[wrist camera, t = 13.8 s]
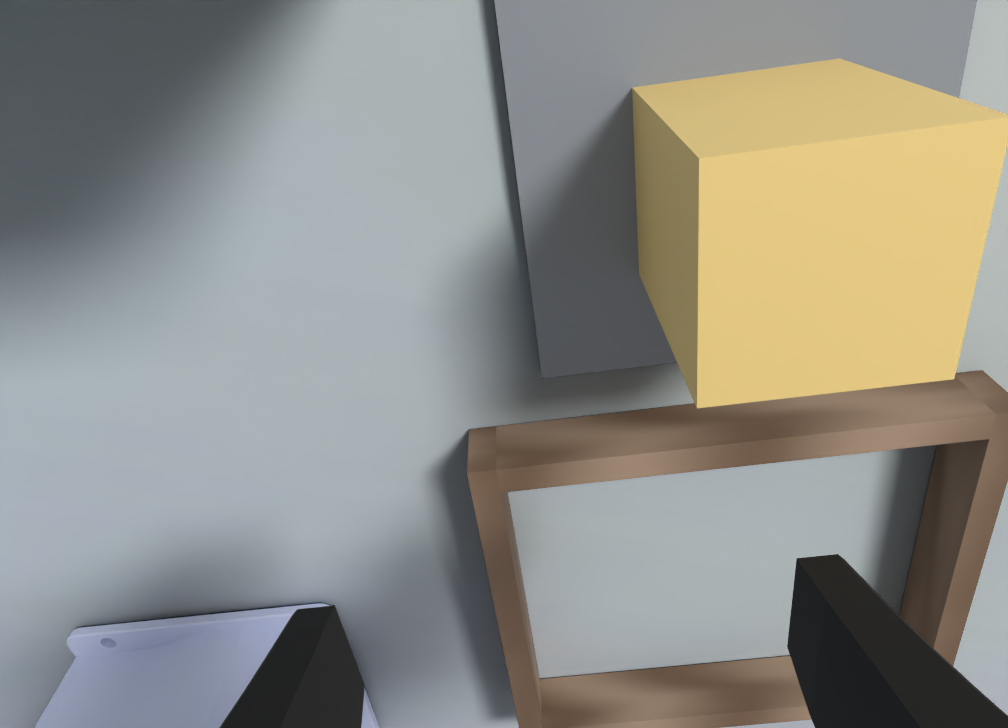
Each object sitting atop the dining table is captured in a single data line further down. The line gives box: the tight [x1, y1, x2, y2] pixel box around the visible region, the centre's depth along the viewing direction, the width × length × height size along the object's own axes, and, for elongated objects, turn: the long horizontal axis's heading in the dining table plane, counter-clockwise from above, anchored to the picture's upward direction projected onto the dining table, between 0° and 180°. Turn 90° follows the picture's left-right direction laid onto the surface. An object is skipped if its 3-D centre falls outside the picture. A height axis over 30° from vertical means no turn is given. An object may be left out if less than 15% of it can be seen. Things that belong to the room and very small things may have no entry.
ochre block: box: [632, 59, 1008, 408], centre depth 14 cm, size 4×4×6 cm
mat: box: [494, 0, 977, 379], centre depth 17 cm, size 10×10×1 cm
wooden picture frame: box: [467, 370, 1008, 728], centre depth 23 cm, size 15×13×2 cm
